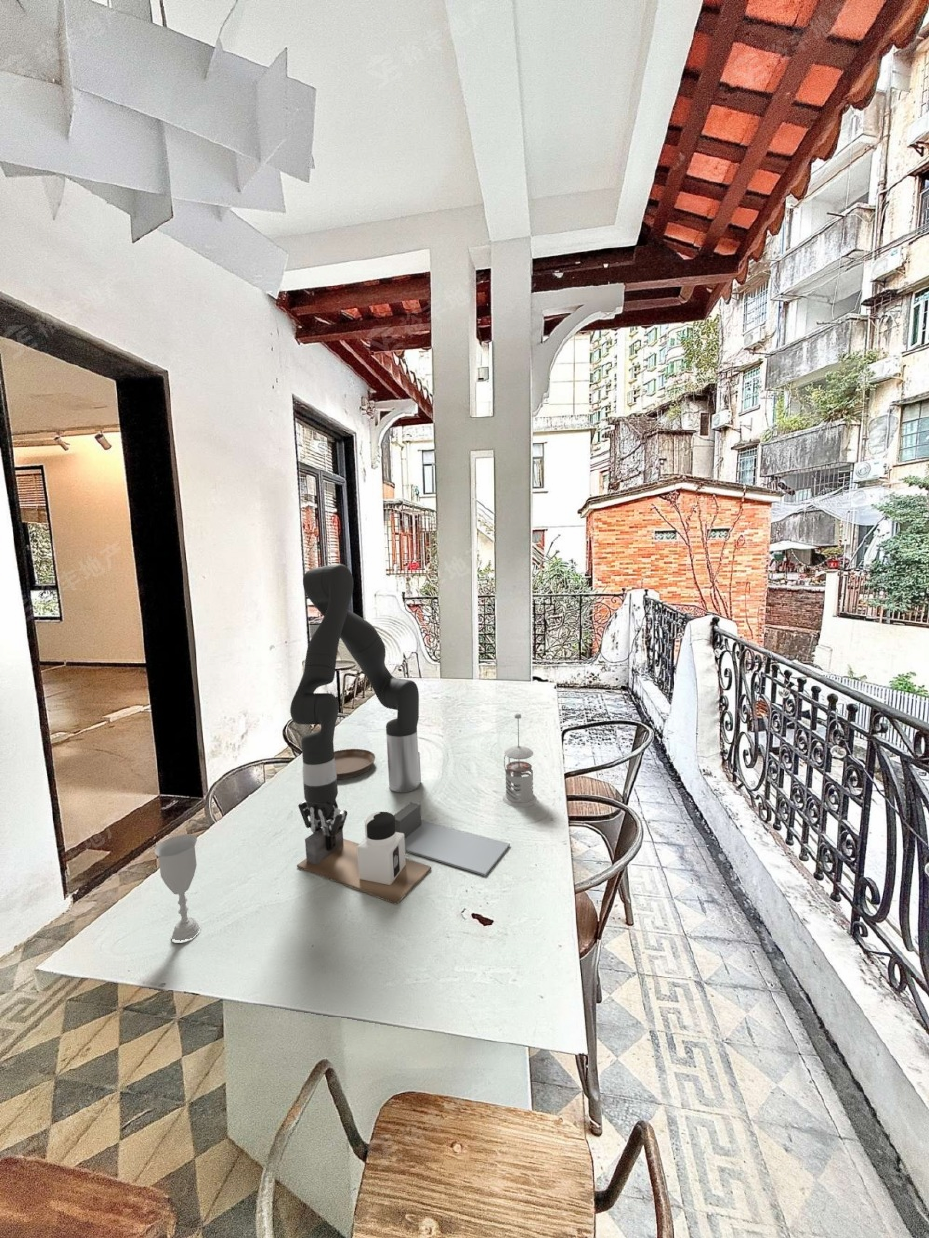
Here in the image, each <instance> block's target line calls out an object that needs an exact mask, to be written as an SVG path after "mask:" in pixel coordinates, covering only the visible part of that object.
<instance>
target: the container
mask: <svg viewBox="0 0 929 1238" xmlns="http://www.w3.org/2000/svg"><path fill="white" fill-rule="evenodd" d="M394 815H395V814H392V813H391V812H388V811H378V812H374V813H371V814H369V815H368V816H367V817H366V818H365V820H364V834H365V838H364V839H362V841H361V842H360V843H358V844H359V845H358V846H357V853H358V869H359V879H361V880H366V881H371V882H376V883H381V884H386V885H391V884H392V883H393V881H394V880H395V878H396V877H397V876H398V874H399V873H400V872H401V870H402V869H403V868H404V866H405V865H406V859H407V858H406V851H405V839H404V834H403V833H399V832H396V826H395V817H394ZM405 858H406V859H405Z"/></svg>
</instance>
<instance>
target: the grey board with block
mask: <svg viewBox="0 0 929 1238" xmlns="http://www.w3.org/2000/svg"><path fill="white" fill-rule="evenodd" d="M421 807H422V806H421V804H420V803H415V802H412V801H410V802H409V803H407V804H406V805H405V806H404V807H402V808H401V809H400V810H399V811H397V812H396V813H395V814H393V815H394V817H395V826H396V832H399V833H403V834H404V839H405V853H406V852H407V853H410V854H413V855H416V856H419V857H422V858H426V859H429V860H432V861H436V862H440V863H442V864H445V865H449V866H451V867H455V868H457V869H461V870H464V871H468V872H471V873H474V874H478V875H481V876H484V877H486V876H487V875H488V874H489V873H490V871H491V870H492V869H493V868H494V866H495V865H496V863H498V861H499V860H500V859H501V857H502V856H503V855H504V853H506V851H507V850H508V849H509V848H510V846H511V843H509V842H505V841H502V840H498V839H494V838H490V837H486V836H482V835H479V834H476V833H472V832H468V831H465V830H460V829H457V828H453V827H449V826H445V825H442V824H440V823H439V824H438V823H434V822H432V821H431V822H430V821H427V820H423V819H422V809H421Z"/></svg>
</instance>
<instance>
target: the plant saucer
mask: <svg viewBox="0 0 929 1238" xmlns="http://www.w3.org/2000/svg"><path fill="white" fill-rule="evenodd" d="M334 758H335V763H336V773H337V780H345V779H346V780H347V779H350V778H355V777H357V776H360V775H362V774H363V773H365V772H367V771H368V770H369V769H370V768H371V767H372V765H373V764H374V762H375V761H376V755H375V754H374V753H373V752H372V751H370V750H366V749H361V748H360V749H359V748H349V749H347V748H346V749H340V750H334Z"/></svg>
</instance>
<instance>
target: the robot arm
mask: <svg viewBox="0 0 929 1238" xmlns="http://www.w3.org/2000/svg"><path fill="white" fill-rule="evenodd" d="M352 574H353V573H352V572H351V570H350V569H349V568H348V566H347V565H345V564H342V563H333V564H328V565H324V566H320V567H315V568H311V569H309V570H307V571H306V572H305V573H304V575H303V579H302V585H303V589H304V592H305V594H306V596H307V597H308V599H309V600H310V602H311V603H312V604H313V606H314V607H315V608H316V609H317V610H318V611H319V613H320V614H321V615H322V617H323V619H322V620H321V622H320V624H319V625H318V627H317V628H316V631H315V632H314V633H313V635H312V637H311V638H310V641H309V643H308V645H307V650H306V654H305V659H304V669H303V674H302V677H301V679H300V682H299V684H298V686H297V689H296V691H295V693H294V695H293V698H292V700H291V703H290V709H289V713H290V716H291V718H292V719H291V720H292V721H293V722H294V723H295V724H298V725H304V726H305V725H320V730H317V731H313V732H312V731H311V732H309V733H306V734H305V735H304V736H303V737H302V739H301V753H302V755H301V756H302V783H303V794H304V795H303V797H304V801H302V802H301V803H298V809H299V812H300V814H301V817H302V820H303V823H304V826H305V828H307V829H310V830H311V832H312V834H313V833H315V832H316V831H318V830H319V829H321V828H322V827H324V829H325V834H326V850H327V851H331V850H332V849H333V848H335V846H336V836H335V835H337V834H338V833H339V832H341V831H342V829H343V828H344V825H345V822H346V820H347V818H348V817H347V816H348V811H347V810H346V809H345V810H341V809H340V808H339V806H338V803H337V797H338V794H339V791H338V779H337V773H336V763H335V758H334V751H335V748H334V747H335V746H334V737H335V730H336V729H335V728H336V724H337V719H338V717H339V716H338V715H339V711H340V704H339V701H338V699H337V697H336V696H335V695H334V694H333V693H328V692H322V693H321V692H319V693H318V692H317V693H316V690H317V689H318V688H319V687H322V686H327V685H329V684H332V683H333V681H334V680H335V676H336V668H337V667H336V666H337V656H338V650H339V649H338V648H339V644H340V640H341V641H342V642H343V644H344V646H345V648H346V649H347V651H348V652H349V653H350V655H351V657H352V658H353V660H354V661H355V662H356V663H357V665H358V666H359V668H360V669H361V671H362V672H363V674H364V676H365V677H366V680H368V682H369V684H370V685H371V687H372V689H373V692H374V694H375V696H376V697H377V700H378V701H379V703H380V704H381V705H382V706H383V707H384V708H387V709H391V710H395V711H397V717H396V718H393V719H390V720H389V721H387V723H386V725H385V730H386V731H385V735H386V748H387V749H386V751H387V752H386V753H387V768H388V769H387V770H388V771H387V772H388V785H389V789H390V791H392V792H394V793H408V792H414V791H415V790H416V789H418V788H419V787H420V785H421V784H420V783H421V782H422V773H421V770H422V769H421V754H420V752H419V742H418V741H419V740H418V725H419V724H418V723H419V720H420V719H419V718H420V716H419V715H420V709H419V708H420V693H419V688H418V686H417V684H416V682H415V681H414V680H412V679H411V680H410V679H405V678H397V677H394V676H393V674H391V672H390V671H389V670H388V668H387V666H386V662H385V661H386V646H385V643H384V640H383V639H382V638H381V636H380V634H379V633H378V631H377V629H376V628H375V627H374V625H373V624H371V623H370V622H369V621H367V620H366V619H365V618H363V617H361V616H360V615H358V614H357V613H355V612H353V611H351V610H350V609H349V607H350V604H351V599H352V596H353V591H354V577H353V575H352ZM330 825H331V829H330V828H329V826H330ZM343 830H344V829H343Z"/></svg>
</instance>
